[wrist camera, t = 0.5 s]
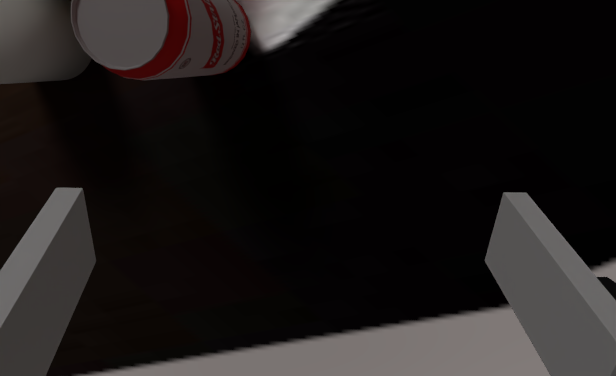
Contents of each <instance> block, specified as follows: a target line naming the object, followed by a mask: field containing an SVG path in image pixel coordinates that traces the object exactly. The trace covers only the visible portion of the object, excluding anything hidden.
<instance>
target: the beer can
mask: <svg viewBox="0 0 616 376" xmlns="http://www.w3.org/2000/svg"><path fill="white" fill-rule="evenodd" d="M71 23H72V26H73V30H74V34H75V37H76V39H77V40H78V42H79V44H80V45H81V47H82V49H83V50H84V51H85V52H86V53H87V54H88V55H89V56H90V57H91V58H92V59H93V60H94V61H95V62H97V63H99V64H101V65H102V66H104V67H105V68H106V69H107V70H109V71H111V72H114V73H116V74H118V75H120V76H122V77H124V78H130V79H137V80H154V79H167V78H180V77H194V76H207V75H216V74H221V73H226V72H227V71H229V70H231V69H232V68H234V67H236V66H237V65H238V64H239V63H240V61H241V60H242V59H243V58H244V57H245V55H246V52H247V50H248V47H249V45H250V36H251V30H250V25H249V20H248V17H247V15H246V13H245V12H244V10H243V8H242V6H241V5H240V4H239V3H237V2H236V1H235V0H72V2H71Z"/></svg>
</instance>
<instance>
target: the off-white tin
mask: <svg viewBox="0 0 616 376" xmlns="http://www.w3.org/2000/svg"><path fill="white" fill-rule="evenodd" d="M91 59H92V58H91V57H90V56H89V55H88V54H87V53H86V52H85V51H84V50H83V49H82V47H81V45H80V44H79V42H78V40H77V39H76V37H75V34H74V30H73V26H72V23H71V2H70V1H68V0H0V84H8V83H25V82H42V81H59V80H68V79H72V78H74V77H76V76H78V75H79V74H81V73H82V72H83V71H84V70H85V69H86V68H87V66H88V65H89V63H90V61H91Z"/></svg>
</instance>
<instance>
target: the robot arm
mask: <svg viewBox="0 0 616 376" xmlns="http://www.w3.org/2000/svg"><path fill="white" fill-rule="evenodd" d="M95 262H96V258H95V253H94V247H93V242H92V236H91V231H90V225H89V220H88V214H87V209H86V204H85V198H84V193H83V188H56V189H55V190H54V192H53V193H52V195H51V196H50V198H49V199H48V201H47V202H46V204H45V205H44V207H43V208H42V210H41V211H40V213H39V214H38V216H37V217H36V219H35V220H34V222H33V223H32V224H31V226H30V227H29V229H28V230H27V232H26V233H25V235H24V236H23V238H22V239H21V241H20V242H19V244H18V245H17V247H16V248H15V250H14V251H13V253H12V254H11V256H10V257H9V259H8V260H7V262H6V263H5V265H4V266H3V268H2V269H1V271H0V376H46V373H47V371H48V369H49V367H50V364H51V362H52V360H53V357H54V355H55V353H56V351H57V348H58V346H59V344H60V342H61V339H62V337H63V335H64V333H65V330H66V328H67V326H68V323H69V321H70V319H71V317H72V314H73V312H74V310H75V308H76V305H77V303H78V301H79V299H80V296H81V294H82V292H83V289H84V287H85V285H86V283H87V280H88V278H89V276H90V274H91V271H92V269H93V267H94V265H95ZM485 262H486V264H487V265H488V267H489V269H490V271H491V272H492V274H493V276H494V278H495V279H496V281H497V283H498V285H499V286H500V288H501V290H502V292H503V293H504V295H505V297H506V299H507V300H508V302H509V304H510V306H511V307H512V309H513V311H514V313H515V314H516V316H517V318H518V319H519V321H520V323H521V325H522V326H523V328H524V330H525V332H526V333H527V335H528V337H529V339H530V340H531V342H532V344H533V346H534V347H535V349H536V351H537V353H538V354H539V356H540V358H541V359H542V361H543V363H544V365H545V366H546V368H547V370H548V372H549V374H550V375H551V376H616V283H615V282H614V281H612V280H611V279H609V278H607V277H596V276H595V275H594V274H593V273H592V271H591V270H590V269H589V268H588V267H587V265H586V264H585V263H584V262H583V260H582V259H581V258H580V257H579V256H578V254H577V253H576V252H575V251H574V250H573V248H572V247H571V246H570V245H569V244H568V242H567V241H566V240H565V239H564V238H563V236H562V235H561V234H560V233H559V232H558V230H557V229H556V228H555V227H554V225H553V224H552V223H551V222H550V221H549V219H548V218H547V217H546V216H545V215H544V213H543V212H542V211H541V210H540V209H539V207H538V206H537V205H536V204H535V203H534V201H533V200H532V199H531V198H530V197H529V195H528V194H527V193H505V192H504V193H503V196H502V200H501V203H500V207H499V211H498V214H497V218H496V222H495V225H494V229H493V233H492V236H491V240H490V243H489V247H488V251H487V254H486V258H485Z"/></svg>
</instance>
